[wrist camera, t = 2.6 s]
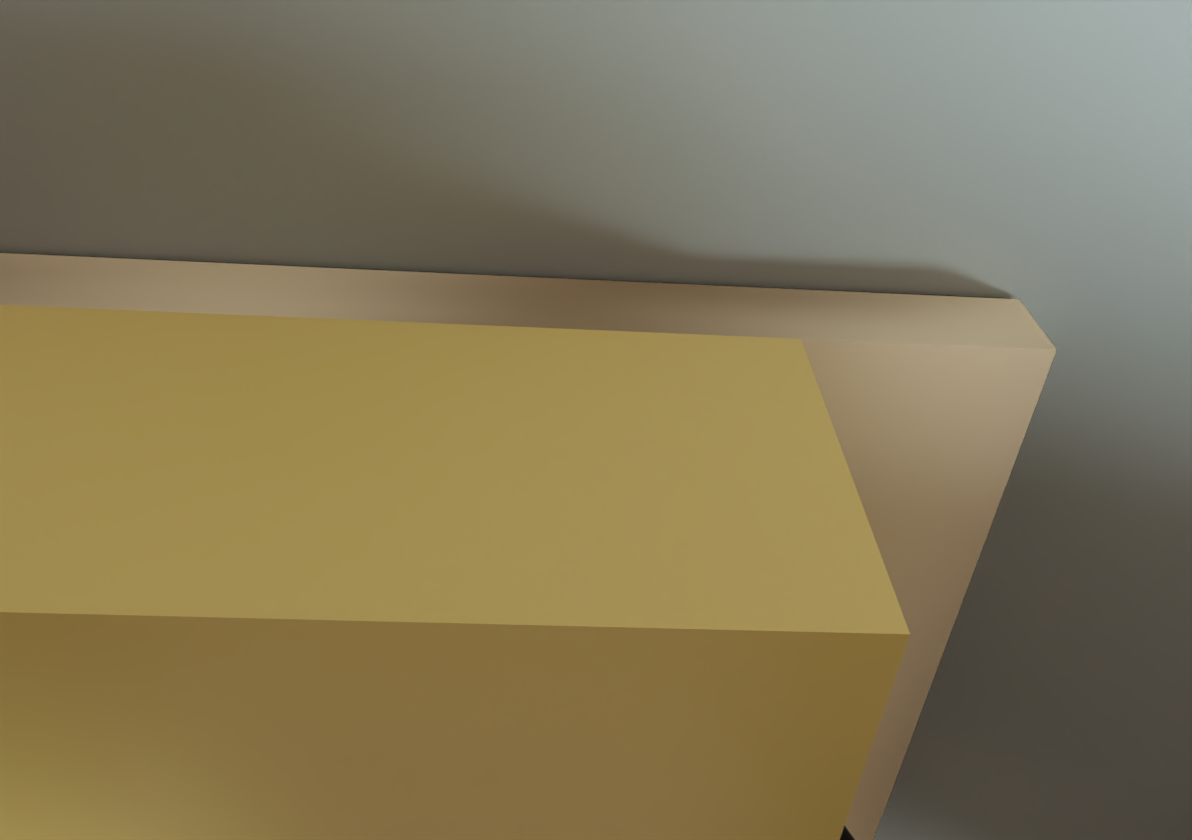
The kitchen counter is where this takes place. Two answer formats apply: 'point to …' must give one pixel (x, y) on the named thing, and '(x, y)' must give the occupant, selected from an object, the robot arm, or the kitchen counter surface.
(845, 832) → the robot arm
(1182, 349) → the kitchen counter surface
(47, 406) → the block
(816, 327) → the subfloor panel
